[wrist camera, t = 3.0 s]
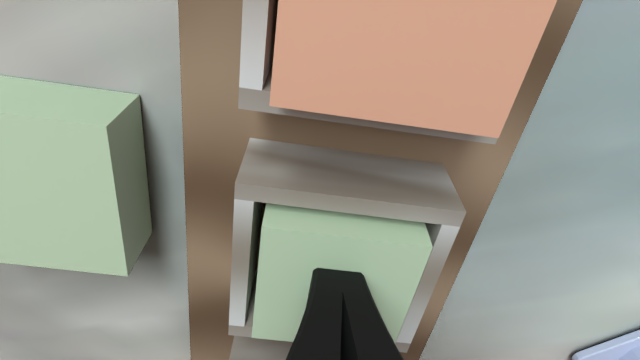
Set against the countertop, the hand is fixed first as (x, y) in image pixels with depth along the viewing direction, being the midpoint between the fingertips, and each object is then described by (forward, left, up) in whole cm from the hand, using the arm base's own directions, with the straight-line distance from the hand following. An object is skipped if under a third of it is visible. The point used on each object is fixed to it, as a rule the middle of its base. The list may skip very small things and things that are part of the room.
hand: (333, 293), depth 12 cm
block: (+7, +7, -5) cm, 11 cm away
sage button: (0, 0, -3) cm, 3 cm away
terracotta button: (+6, -6, -2) cm, 8 cm away
